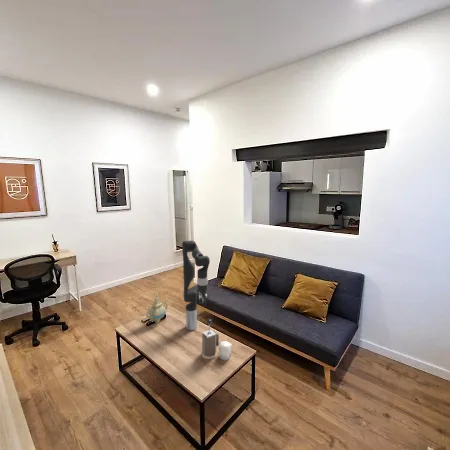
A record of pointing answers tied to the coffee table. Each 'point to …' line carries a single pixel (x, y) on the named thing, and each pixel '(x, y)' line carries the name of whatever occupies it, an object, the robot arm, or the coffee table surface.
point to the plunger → (209, 321)
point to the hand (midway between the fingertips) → (202, 305)
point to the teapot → (157, 309)
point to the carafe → (209, 344)
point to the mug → (225, 350)
